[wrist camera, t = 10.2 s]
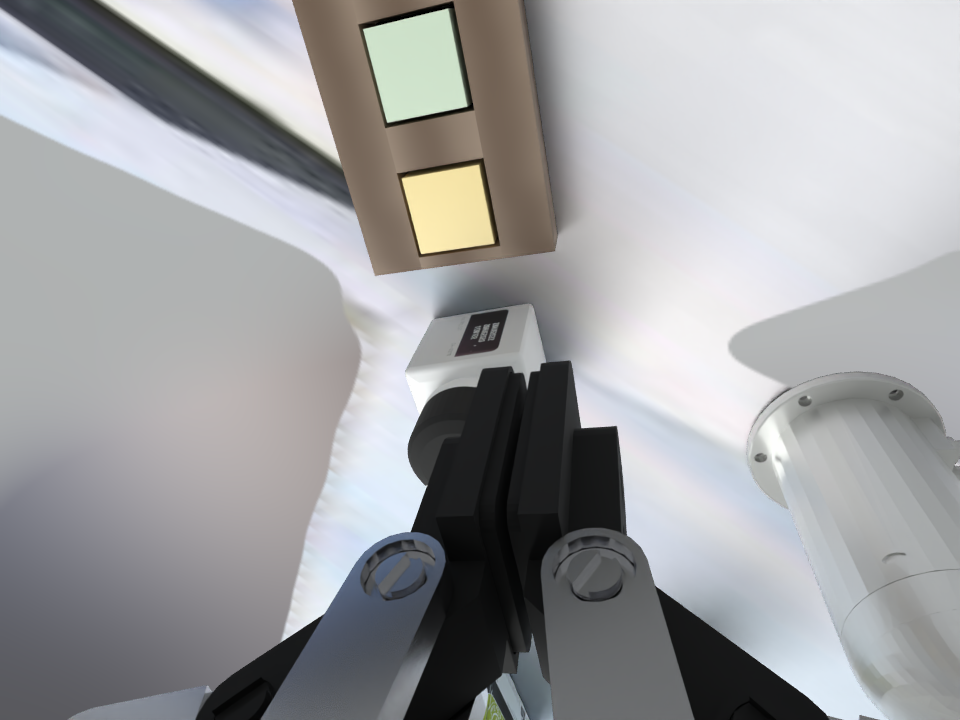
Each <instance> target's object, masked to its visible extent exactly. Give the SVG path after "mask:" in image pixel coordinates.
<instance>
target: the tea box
mask: <svg viewBox="0 0 960 720" xmlns="http://www.w3.org/2000/svg"><path fill="white" fill-rule="evenodd" d="M487 691H488V701H487V707H486V711H485V715H484V718H483V720H530V719H529V717H528V715H527V713H526V711H525V708H524V706H523V703H522V701H521V699H520V697H519V695H518V693H517V690H516V687H515V685H514V683H513V681H512V679H511V677H510V675H509V673H502V676H501V677H500V678H498V679H497V680H496V681H495V682H493V683H492V684H491V685H490V686H489V687H487Z"/></svg>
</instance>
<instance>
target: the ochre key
mask: <svg viewBox="0 0 960 720" xmlns="http://www.w3.org/2000/svg"><path fill="white" fill-rule="evenodd" d="M402 182H403V186H404V190H405V194H406V197H407V201H408V205H409V209H410V213H411V217H412V221H413V224H414V228H415V232H416V236H417V240H418V244H419V248H420V252H421V254H425V253H432V252H439V251H446V250H453V249H460V248H467V247H474V246H481V245H488V244H494V243H495V241H496V238H497V236H498V231H497V226H496V221H495V215H494V210H493V205H492V200H491V194H490V189H489V184H488V179H487V174H486V168H485V163H484V158H480V159H474V160H469V161H463V162H458V163H452V164H446V165H441V166H435V167H430V168H424V169H419V170H413V171H410V172H409V173H408V174H406V175H405V176H404V177H403V178H402Z"/></svg>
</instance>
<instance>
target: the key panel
mask: <svg viewBox="0 0 960 720" xmlns="http://www.w3.org/2000/svg"><path fill="white" fill-rule="evenodd" d="M292 2H293V5H294V8H295V12H296V15H297V18H298V22H299V25H300V28H301V32H302V35H303V38H304V42H305V45H306V48H307V52H308V55H309V58H310V61H311V65H312V68H313V71H314V75H315V78H316V81H317V85H318V88H319V91H320V95H321V98H322V101H323V105H324V108H325V111H326V115H327V118H328V121H329V124H330V128H331V131H332V134H333V138H334V141H335V144H336V148H337V151H338V154H339V158H340V161H341V164H342V168H343V171H344V174H345V178H346V181H347V184H348V187H349V191H350V194H351V197H352V201H353V204H354V207H355V211H356V214H357V217H358V221H359V224H360V227H361V231H362V234H363V237H364V241H365V244H366V247H367V250H368V254H369V257H370V260H371V264H372V267H373V270H374V274H375V276H377V275H384V274H391V273H399V272H406V271H413V270H421V269H428V268H435V267H443V266H450V265H457V264H465V263H472V262H479V261H487V260H494V259H501V258H508V257H516V256H523V255H530V254H538V253H545V252H552V251H555V248H556V242H557V236H558V235H557V228H556V221H555V214H554V207H553V200H552V193H551V186H550V179H549V172H548V165H547V158H546V151H545V144H544V138H543V131H542V124H541V117H540V110H539V103H538V96H537V89H536V82H535V75H534V68H533V61H532V54H531V47H530V40H529V33H528V26H527V19H526V12H525V5H524V0H292ZM452 4H454V7H455V12H456V17H457V22H458V27H459V33H460V38H461V43H462V48H463V54H464V59H465V64H466V69H467V74H468V80H469V85H470V90H471V95H472V101H473V106H468V107H463V108H459V109H454V110H449V111H444V112H439V113H434V114H429V115H424V116H419V117H414V118H409V119H404V120H398V121H393V122H389V123H387V120H386V116H385V112H384V109H383V105H382V101H381V97H380V93H379V89H378V85H377V81H376V78H375V74H374V70H373V66H372V62H371V58H370V54H369V50H368V47H367V43H366V39H365V35H364V31H363V29H367V28H371V27H375V26H376V24H375V23H379V22H383V21H387V20H391V19H395V18H399V17H403V16H407V15H411V14H415V13H419V12H423V11H427V10H431V9H436V8H440V7H444V6H448V5H452ZM480 158H484V163H485V168H486V174H487V179H488V184H489V189H490V194H491V200H492V205H493V210H494V215H495V221H496V226H497V231H498V236H497V238H496V241H495V243H494V244H488V245H481V246H474V247H467V248H460V249H453V250H446V251H439V252H432V253H425V254H421V252H420V248H419V244H418V240H417V236H416V232H415V228H414V224H413V221H412V217H411V213H410V209H409V205H408V201H407V197H406V194H405V190H404V186H403V182H402V178H403V177H404V176H405V175H406V174H408V173H409V172H410V171H413V170H419V169H424V168H430V167H435V166H441V165H446V164H452V163H458V162H463V161H469V160H474V159H480Z"/></svg>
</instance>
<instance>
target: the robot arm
mask: <svg viewBox="0 0 960 720" xmlns="http://www.w3.org/2000/svg"><path fill="white" fill-rule="evenodd" d="M747 459H748V465H749V468H750V471H751V473H752V476H753V479H754V481H755V482H756V484H757V485H758V487H759V488H760V490H761V491H762V492H763V493H764V494H765V495H766V496H767V497H768V498H769V499H771V500H772V501H774V502H775V503H777V504H778V505H780V506H782V507H784V508H786V509H788V510H789V511H790V513H791V516H792V518H793V521H794V524H795V526H796V529H797V531H798V534H799V536H800V539H801V542H802V544H803V547H804V549H805V552H806V554H807V557H808V560H809V562H810V565H811V567H812V570H813V572H814V575H815V578H816V580H817V583H818V585H819V588H820V590H821V593H822V596H823V598H824V601H825V603H826V606H827V608H828V611H829V614H830V616H831V619H832V621H833V624H834V626H835V629H836V632H837V634H838V637H839V639H840V642H841V644H842V647H843V650H844V652H845V655H846V657H847V660H848V662H849V665H850V667H851V670H852V672H853V674H854V676H855V678H856V680H857V682H858V684H859V685H860V687H861V688H862V690H863V691H864V693H865V694H866V696H867V697H868V698H869V700H870V701H871V702H872V703H873V704H874V705H875V706H876V708H877V709H878V710H879V711H880V712H881V713H882V714H883V715H884V716H885V717H886V718H888V719H889V720H960V466H956V467H955V466H954V464H956V463H957V461H958V460H960V441H954V440H953V439H952V438H951V437H946V430H945V427H944V423H943V420H942V417H941V416H940V414H939V413H938V411H937V409H936V408H935V407H934V405H933V404H932V403H931V402H930V401H929V400H928V398H927V397H926V396H925V395H924V394H923V393H921V392H920V391H919V390H917V389H916V388H915V387H913V386H912V385H911V384H909V383H906V382H904V381H902V380H899V379H897V378H895V377H891V376H887V375H882V374H879V373H869V372H846V373H836V374H832V375H827V376H822V377H818V378H815V379H813V380H810V381H807V382H805V383H802V384H800V385H798V386H796V387H794V388H792V389H791V390H789V391H787V392H785V393H783V394H782V395H781V396H780V397H778V398H777V399H776V400H774V401H773V402H772V403H771V404H770V405H769V406H768V407H767V408H766V409H765V410H764V411H763V412H762V413H761V414H760V416H759V417H758V419H757V421H756V422H755V424H754V425H753V427H752V429H751V432H750V435H749V438H748V441H747ZM532 633H533V637H534V641H535V646H536V650H537V654H538V658H539V662H540V666H541V670H542V674H543V677H544V678H545V680H546V681H547V682H548V683H549V684H550V685H551V695H552V706H553V718H554V720H842V719H838V718H834V717H830V716H827V715H826V714H825V713H824V712H823V711H822V710H821V709H820V708H819V707H818V706H817V705H815V704H814V703H813V702H812V701H811V700H810V699H809V698H808V697H807V696H805V695H804V694H803V693H801V692H800V691H798V690H797V689H796V688H794V687H793V686H792V685H790V684H789V683H787V682H786V681H785V680H783V679H782V678H781V677H779V676H778V675H777V674H775V673H774V672H772V671H771V670H770V669H768V668H767V667H766V666H764V665H763V664H761V663H760V662H759V661H757V660H756V659H755V658H753V657H752V656H750V655H749V654H748V653H746V652H745V651H744V650H742V649H741V648H740V647H738V646H737V645H735V644H734V643H733V642H731V641H730V640H729V639H727V638H726V637H724V636H723V635H722V634H720V633H719V632H718V631H716V630H715V629H713V628H712V627H711V626H709V625H708V624H707V623H705V622H704V621H703V620H701V619H700V618H698V617H697V616H696V615H694V614H693V613H692V612H690V611H689V610H687V609H686V608H685V607H683V606H682V605H681V604H679V603H678V602H676V601H675V600H674V599H672V598H671V597H670V596H668V595H667V594H666V593H664V592H663V591H661V590H660V589H659V588H657V587H656V586H655V584H654V581H653V577H652V574H651V570H650V567H649V564H648V560H647V558H646V556H645V554H644V552H643V550H642V548H641V547H640V546H639V545H638V544H637V543H636V542H635V541H633V540H632V539H631V538H630V537H628V536H627V531H626V514H625V499H624V486H623V475H622V465H621V456H620V447H619V438H618V430H617V426H612V427H596V428H581V423H580V417H579V410H578V403H577V396H576V390H575V383H574V376H573V370H572V364H571V361H560V362H549V363H541V366H540V371H533V372H531V373H530V377H529V383H528V388H527V386H526V381H525V376H524V374H523V372H522V373H514V370H513V368H512V366H506V367H495V368H484V369H482V371H481V374H480V377H479V381H478V384H477V387H476V390H475V393H474V396H473V400H472V403H471V406H470V409H469V412H468V415H467V418H466V422H465V425H464V428H463V431H462V434H461V436H456V437H447V438H445V439H444V441H443V443H442V446H441V448H440V451H439V454H438V457H437V460H436V463H435V465H434V468H433V471H432V474H431V477H430V479H429V482H428V485H427V488H426V491H425V494H424V496H423V499H422V502H421V505H420V508H419V510H418V513H417V516H416V519H415V522H414V524H413V527H412V530H411V532H405V533H400V534H396V535H392V536H389V537H387V538H385V539H383V540H381V541H379V542H377V543H375V544H374V545H373V546H372V547H370V548H369V549H368V550H367V551H365V552H364V553H363V555H362V556H361V557H360V558H359V560H358V561H357V562H356V564H355V565H354V567H353V568H352V570H351V572H350V573H349V575H348V577H347V578H346V580H345V582H344V583H343V585H342V587H341V588H340V590H339V591H338V593H337V595H336V596H335V598H334V600H333V601H332V603H331V605H330V606H329V608H328V610H327V611H326V613H325V614H324V615H322V616H321V617H319V618H318V619H316V620H315V621H313V622H312V623H310V624H308V625H307V626H305V627H304V628H302V629H301V630H299V631H298V632H296V633H295V634H293V635H292V636H290V637H289V638H287V639H286V640H284V641H283V642H281V643H280V644H278V645H277V646H275V647H274V648H272V649H271V650H269V651H267V652H266V653H264V654H263V655H261V656H260V657H258V658H257V659H255V660H254V661H252V662H251V663H249V664H248V665H246V666H245V667H243V668H242V669H240V670H239V671H237V672H236V673H234V674H233V675H231V676H230V677H229V678H228V679H227V680H225V681H224V682H223V683H222V684H220V685H219V686H218V687H217V688H216V689H215V691H214V692H212V691H211V690H210V688H209V687H208V686H207V685H206V686H200V687H195V688H190V689H186V690H180V691H176V692H170V693H165V694H160V695H155V696H150V697H146V698H141V699H136V700H131V701H126V702H121V703H116V704H111V705H106V706H101V707H96V708H92V709H89V710H86V711H84V712H81V713H78V714H76V715H74V716H73V717H71V718H70V719H68V720H483V718H484V715H485V711H486V707H487V701H488V691H487V687H489V686H490V685H491V684H492V683H493V682H495V681H496V680H497V679H498V678H500V677H501V676H502V673H510V674H517V666H518V657H519V652H529V651H530V646H531V638H532ZM859 720H878V719H874V718H870V717H866V716H862V715H859Z"/></svg>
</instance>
